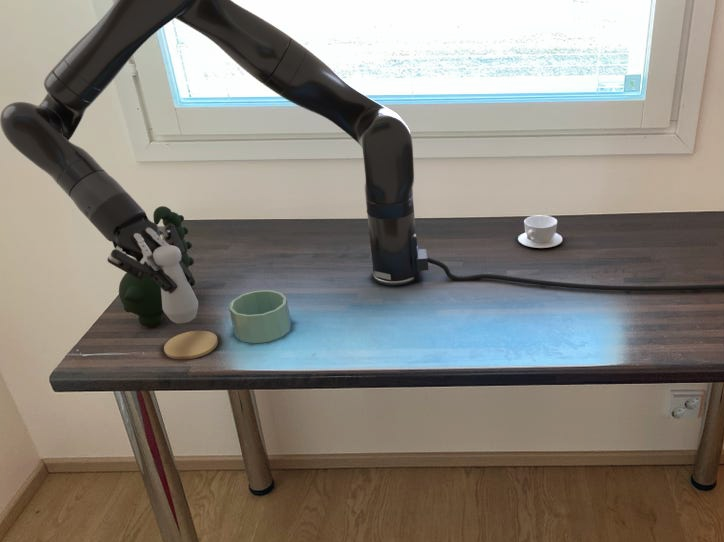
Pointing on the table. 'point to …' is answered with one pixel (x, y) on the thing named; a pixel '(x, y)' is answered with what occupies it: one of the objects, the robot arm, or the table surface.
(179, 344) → the coaster
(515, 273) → the table surface
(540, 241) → the teacup
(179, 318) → the salt shaker
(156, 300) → the toy figurine
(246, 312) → the cup
